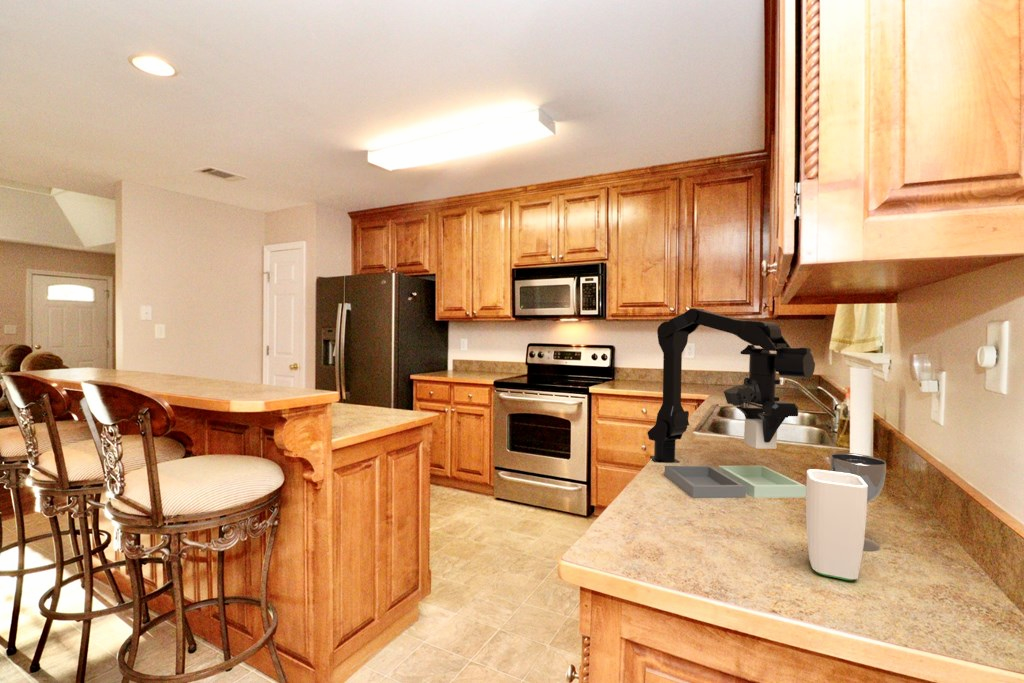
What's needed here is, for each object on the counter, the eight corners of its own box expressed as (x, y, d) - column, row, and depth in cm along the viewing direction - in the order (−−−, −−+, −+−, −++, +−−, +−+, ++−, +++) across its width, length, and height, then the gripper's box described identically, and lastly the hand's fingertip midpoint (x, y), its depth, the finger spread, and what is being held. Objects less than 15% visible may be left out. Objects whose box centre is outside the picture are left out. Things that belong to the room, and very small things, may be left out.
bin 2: (717, 477, 121) (718, 465, 121) (762, 477, 122) (763, 465, 122) (754, 499, 105) (754, 486, 105) (805, 499, 106) (806, 486, 106)
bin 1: (664, 477, 120) (664, 465, 120) (710, 477, 121) (710, 465, 121) (692, 500, 104) (693, 486, 104) (745, 499, 105) (745, 486, 105)
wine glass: (877, 556, 79) (880, 467, 79) (822, 540, 85) (825, 457, 85) (887, 543, 84) (890, 459, 84) (834, 528, 90) (837, 450, 90)
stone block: (744, 443, 116) (744, 418, 116) (763, 443, 116) (764, 418, 116) (755, 448, 111) (756, 422, 111) (776, 448, 111) (777, 423, 111)
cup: (802, 556, 79) (805, 467, 78) (855, 566, 76) (859, 474, 75) (808, 576, 72) (811, 480, 72) (866, 589, 69) (870, 487, 69)
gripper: (710, 370, 122) (708, 431, 122) (752, 378, 103) (749, 449, 104) (752, 371, 122) (750, 431, 123) (801, 378, 104) (798, 449, 104)
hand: (760, 439), depth 113 cm, fingers closed on stone block, 5 cm apart
